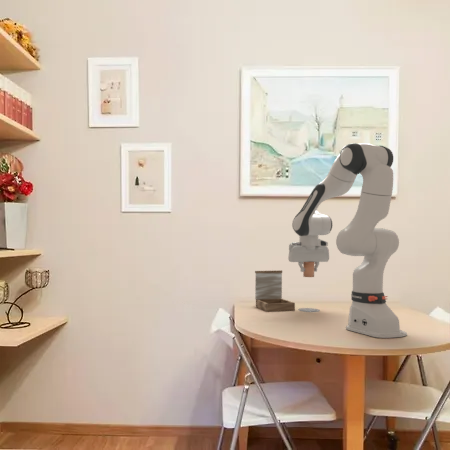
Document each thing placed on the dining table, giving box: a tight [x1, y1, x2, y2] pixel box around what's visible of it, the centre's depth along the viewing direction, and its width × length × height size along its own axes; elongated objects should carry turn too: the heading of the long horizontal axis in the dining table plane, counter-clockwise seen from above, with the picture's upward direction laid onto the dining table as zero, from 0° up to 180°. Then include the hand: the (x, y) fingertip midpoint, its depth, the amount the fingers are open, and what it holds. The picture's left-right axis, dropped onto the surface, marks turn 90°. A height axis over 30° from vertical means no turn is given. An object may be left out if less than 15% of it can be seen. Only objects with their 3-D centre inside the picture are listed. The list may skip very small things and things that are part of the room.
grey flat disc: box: [298, 307, 321, 313], centre depth 195 cm, size 10×10×1 cm
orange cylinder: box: [302, 262, 315, 278], centre depth 195 cm, size 5×5×7 cm
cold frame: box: [254, 270, 296, 313], centre depth 199 cm, size 15×14×18 cm
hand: (308, 271), depth 195 cm, fingers closed on orange cylinder, 5 cm apart
